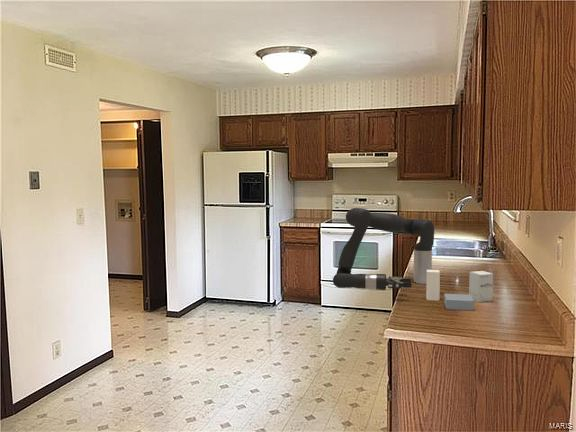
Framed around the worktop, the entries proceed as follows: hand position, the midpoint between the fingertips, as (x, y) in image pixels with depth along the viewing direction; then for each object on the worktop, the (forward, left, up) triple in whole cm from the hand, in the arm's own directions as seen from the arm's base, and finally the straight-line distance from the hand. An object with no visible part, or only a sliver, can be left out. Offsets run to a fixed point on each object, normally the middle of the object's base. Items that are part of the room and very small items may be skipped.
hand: (411, 283), depth 224 cm
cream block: (0, +10, -7) cm, 12 cm away
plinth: (+11, +20, -7) cm, 24 cm away
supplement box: (-2, +31, -7) cm, 32 cm away
